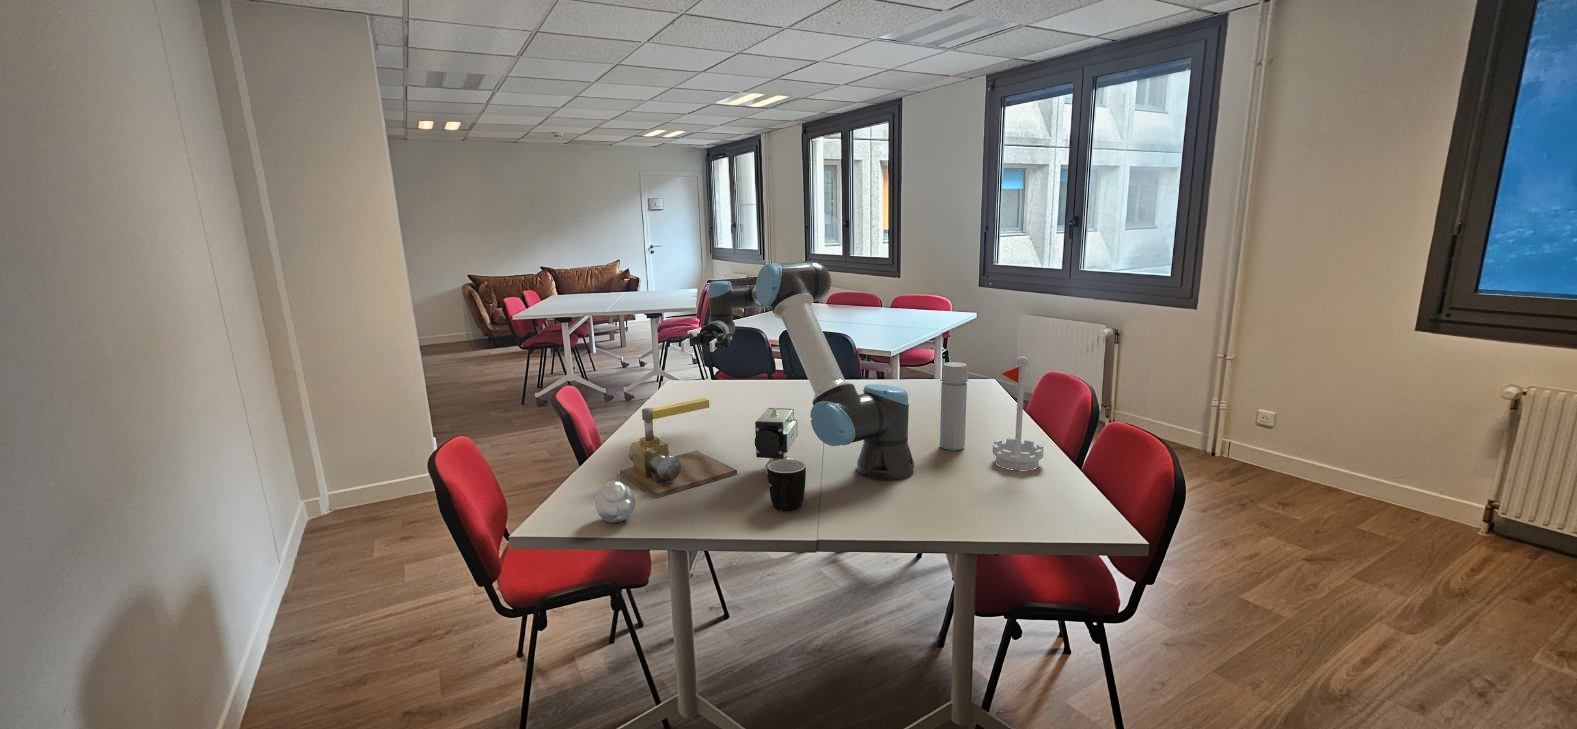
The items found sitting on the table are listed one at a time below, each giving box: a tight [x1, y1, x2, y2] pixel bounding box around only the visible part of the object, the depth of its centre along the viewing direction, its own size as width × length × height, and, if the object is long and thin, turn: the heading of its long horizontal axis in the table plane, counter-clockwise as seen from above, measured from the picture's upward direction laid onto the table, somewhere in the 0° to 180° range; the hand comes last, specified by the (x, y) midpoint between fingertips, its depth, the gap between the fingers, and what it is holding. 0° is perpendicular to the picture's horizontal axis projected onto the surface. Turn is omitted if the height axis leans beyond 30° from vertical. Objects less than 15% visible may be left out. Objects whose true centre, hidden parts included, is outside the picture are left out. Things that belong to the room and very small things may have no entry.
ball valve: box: [754, 407, 799, 476], centre depth 176 cm, size 18×8×18 cm, turn 168°
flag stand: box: [992, 355, 1044, 470], centre depth 178 cm, size 13×13×30 cm
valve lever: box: [641, 397, 710, 422], centre depth 179 cm, size 20×3×3 cm, turn 128°
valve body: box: [628, 419, 681, 483], centre depth 174 cm, size 7×17×14 cm, turn 38°
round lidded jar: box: [594, 480, 637, 524], centre depth 149 cm, size 9×10×10 cm
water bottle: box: [939, 361, 969, 452], centre depth 193 cm, size 9×8×25 cm
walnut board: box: [619, 450, 738, 499], centre depth 178 cm, size 24×21×1 cm
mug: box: [767, 459, 807, 512], centre depth 154 cm, size 12×9×10 cm
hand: (696, 347), depth 186 cm, fingers open, 8 cm apart
